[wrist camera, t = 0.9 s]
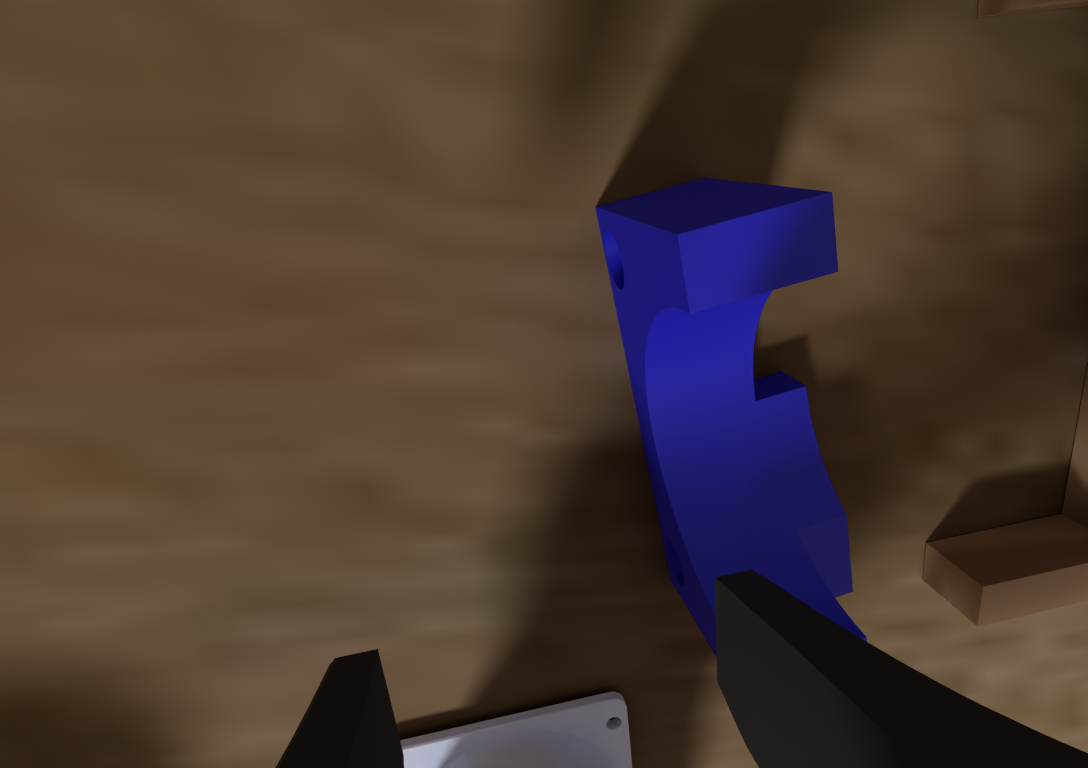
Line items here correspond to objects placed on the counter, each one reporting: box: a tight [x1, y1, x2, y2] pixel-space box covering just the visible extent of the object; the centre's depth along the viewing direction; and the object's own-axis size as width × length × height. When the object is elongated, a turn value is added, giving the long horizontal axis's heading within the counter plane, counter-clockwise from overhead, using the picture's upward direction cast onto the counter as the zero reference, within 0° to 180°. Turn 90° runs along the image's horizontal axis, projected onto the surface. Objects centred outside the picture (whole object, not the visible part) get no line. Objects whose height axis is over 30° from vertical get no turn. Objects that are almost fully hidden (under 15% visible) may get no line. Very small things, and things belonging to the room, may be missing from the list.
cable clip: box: [596, 178, 867, 657], centre depth 17 cm, size 12×4×6 cm, turn 14°
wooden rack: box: [923, 0, 1088, 626], centre depth 20 cm, size 19×7×2 cm, turn 7°
